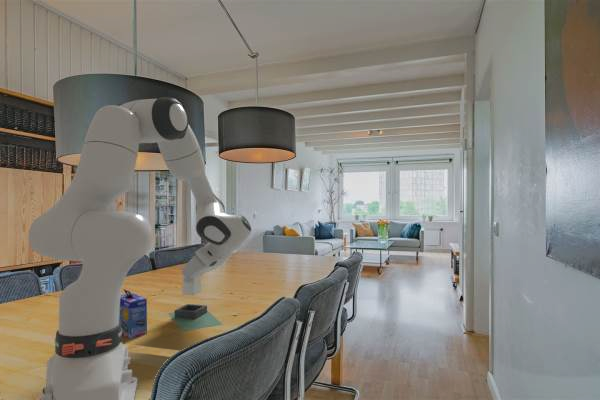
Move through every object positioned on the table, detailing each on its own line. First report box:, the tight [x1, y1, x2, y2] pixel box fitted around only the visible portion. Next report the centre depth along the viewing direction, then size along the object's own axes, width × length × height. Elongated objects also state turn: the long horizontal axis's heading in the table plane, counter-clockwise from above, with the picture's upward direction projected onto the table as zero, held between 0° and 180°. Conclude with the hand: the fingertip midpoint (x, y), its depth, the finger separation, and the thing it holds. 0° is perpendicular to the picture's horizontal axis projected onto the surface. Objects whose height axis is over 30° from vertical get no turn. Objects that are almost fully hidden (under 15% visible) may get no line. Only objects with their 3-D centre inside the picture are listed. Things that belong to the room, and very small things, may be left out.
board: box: [168, 303, 224, 332], centre depth 119 cm, size 21×13×4 cm, turn 31°
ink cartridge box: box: [119, 289, 148, 339], centre depth 106 cm, size 10×6×14 cm, turn 51°
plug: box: [182, 274, 202, 297], centre depth 123 cm, size 4×4×9 cm
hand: (190, 279), depth 123 cm, fingers closed on plug, 4 cm apart
